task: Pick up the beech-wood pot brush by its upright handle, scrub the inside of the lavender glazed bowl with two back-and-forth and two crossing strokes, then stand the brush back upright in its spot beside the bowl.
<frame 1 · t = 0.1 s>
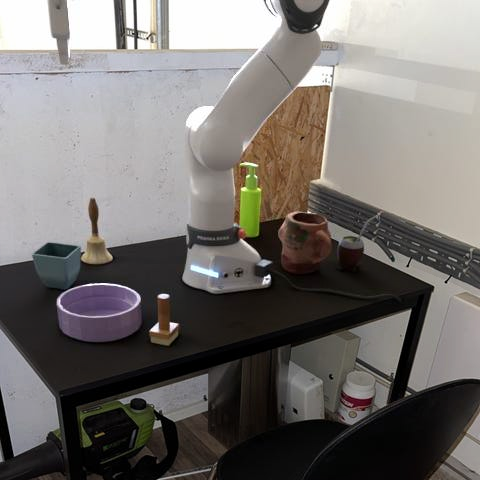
hand: (65, 61, 130), 48 cm above the table, tool pointing down, fingers open, 8 cm apart
hand bell: (97, 259, 172), on the table
mate gourd: (349, 268, 174), on the table
soap dispenser: (247, 234, 194), on the table
brush: (164, 338, 136), on the table
flower pot: (61, 286, 156), on the table
bowl: (101, 325, 140), on the table
decorative planter: (303, 270, 171), on the table
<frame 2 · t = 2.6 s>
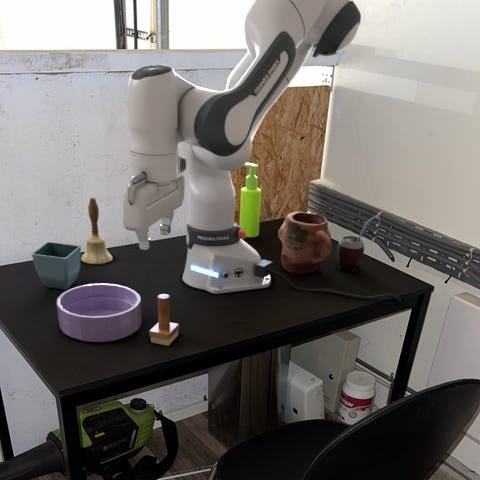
hand: (155, 241, 125), 21 cm above the table, tool pointing down, fingers open, 8 cm apart
nothing on the table moved.
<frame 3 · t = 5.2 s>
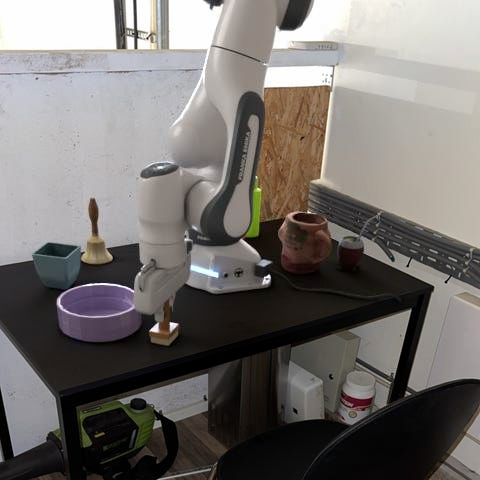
hand: (164, 316, 133), 5 cm above the table, tool pointing down, fingers closed on brush, 2 cm apart
brush: (164, 338, 136), on the table, touching gripper
everything else where it was.
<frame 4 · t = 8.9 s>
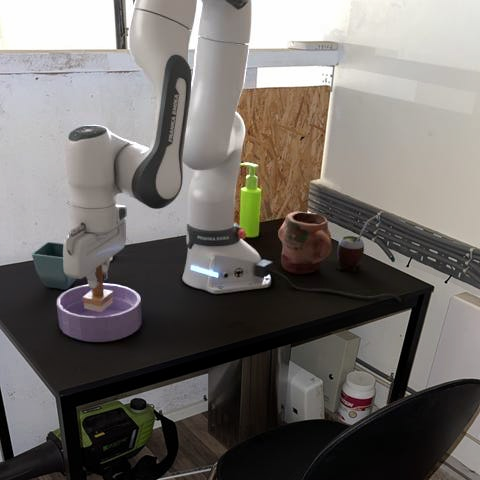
hand: (98, 283, 134), 10 cm above the table, tool pointing down, fingers closed on brush, 2 cm apart
brush: (98, 305, 137), point 5 cm above the table, touching gripper
everything else where it was.
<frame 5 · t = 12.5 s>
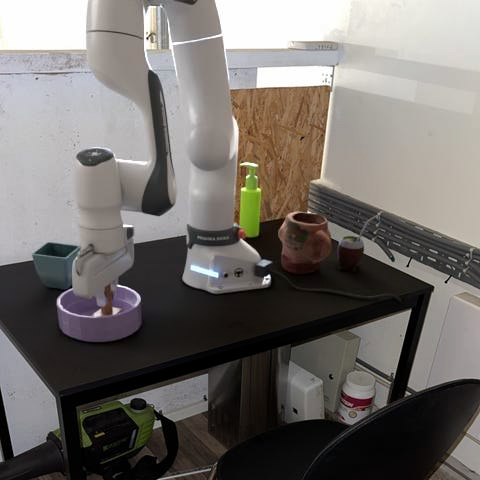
hand: (107, 301, 136), 6 cm above the table, tool pointing down, fingers closed on brush, 2 cm apart
brush: (107, 323, 139), point 1 cm above the table, touching gripper
everything else where it was.
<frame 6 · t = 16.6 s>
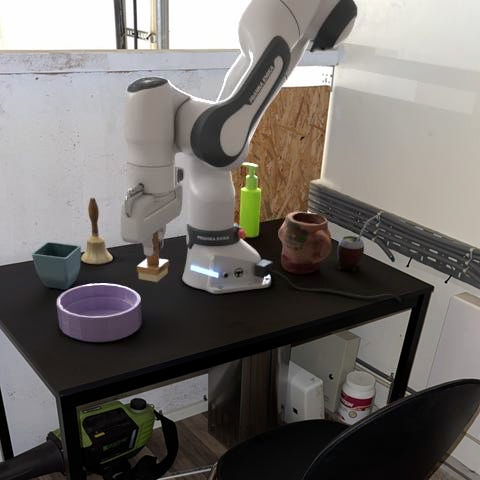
hand: (154, 251, 125), 19 cm above the table, tool pointing down, fingers closed on brush, 2 cm apart
brush: (153, 276, 128), point 14 cm above the table, touching gripper
everything else where it was.
when the fingers open (5 cm above the table, at t = 19.9 s): brush stays where it is, on the table.
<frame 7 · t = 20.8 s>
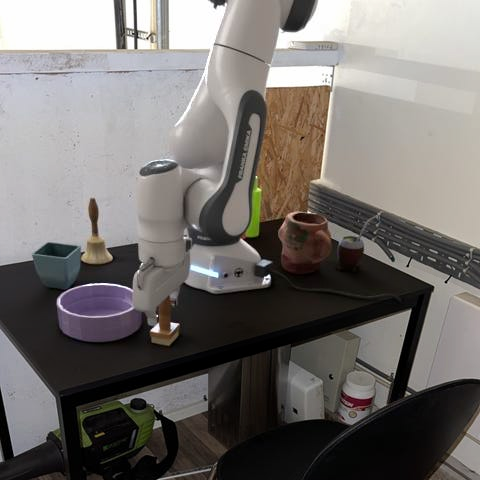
hand: (163, 315, 133), 5 cm above the table, tool pointing down, fingers open, 8 cm apart
brush: (165, 339, 136), on the table
everything else where it was.
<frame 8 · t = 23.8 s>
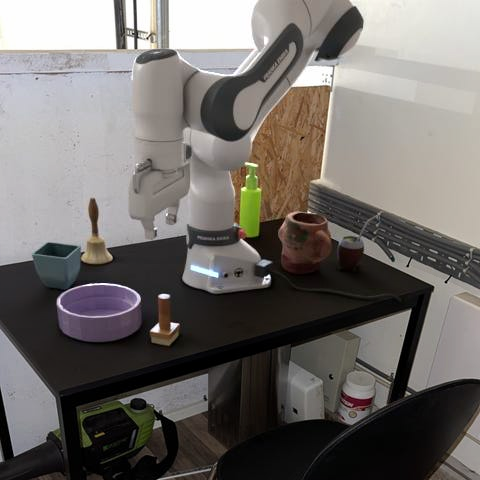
hand: (161, 230, 122), 23 cm above the table, tool pointing down, fingers open, 8 cm apart
nothing on the table moved.
at the end: brush 0.1 cm from the target spot, on the table; brush tilted 0°; the gripper is holding nothing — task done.
